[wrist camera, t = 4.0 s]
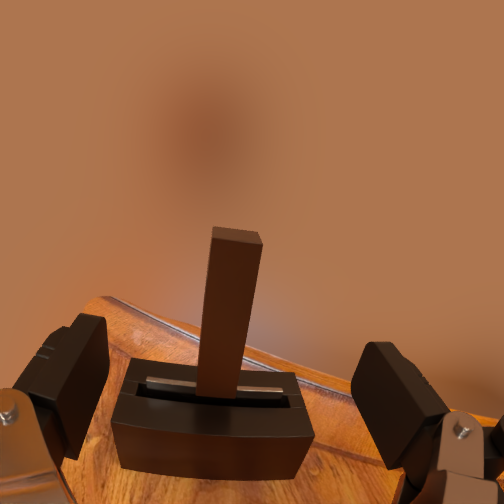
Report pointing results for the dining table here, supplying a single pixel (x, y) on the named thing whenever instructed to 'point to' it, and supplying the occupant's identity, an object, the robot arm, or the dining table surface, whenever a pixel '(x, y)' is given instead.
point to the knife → (223, 329)
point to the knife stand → (210, 429)
